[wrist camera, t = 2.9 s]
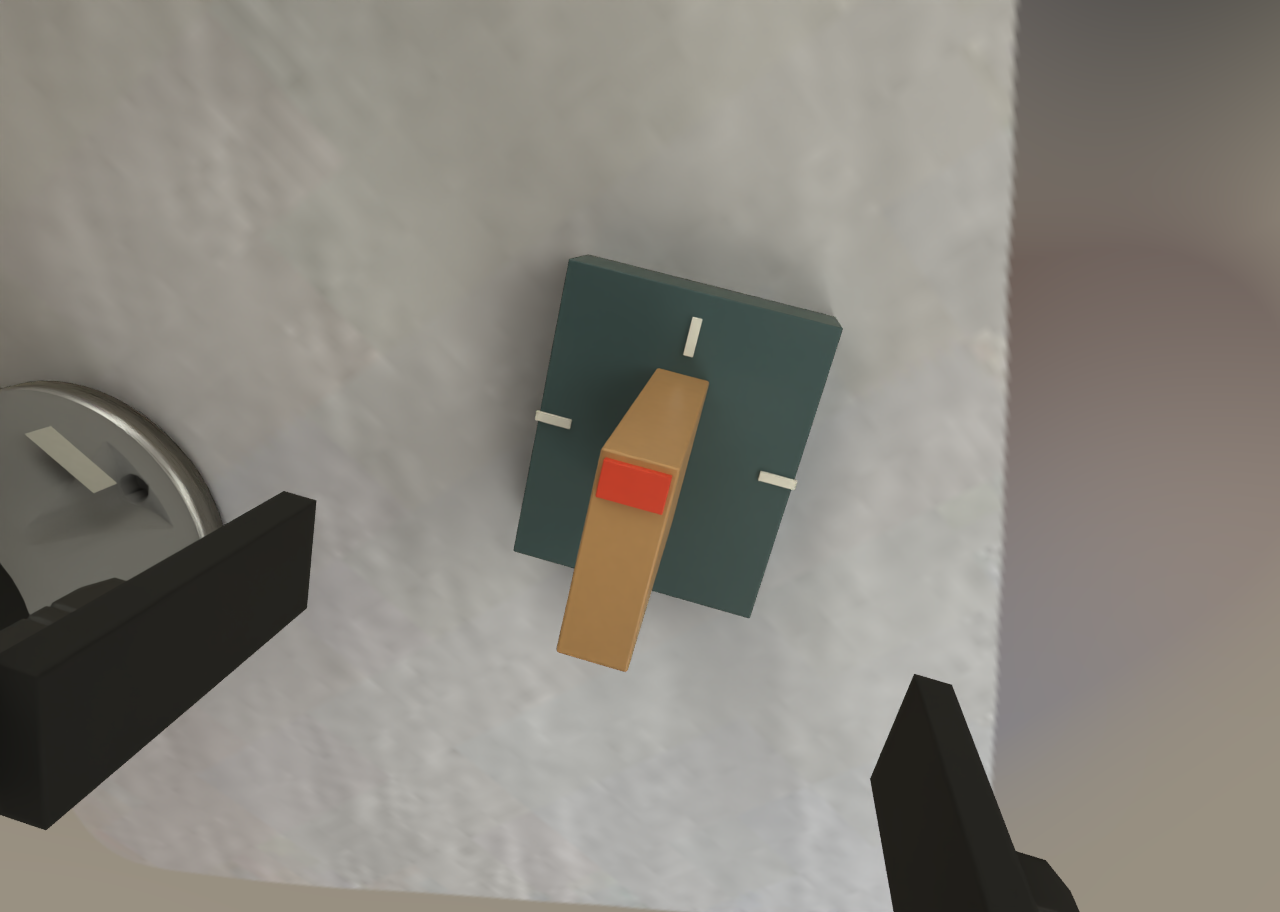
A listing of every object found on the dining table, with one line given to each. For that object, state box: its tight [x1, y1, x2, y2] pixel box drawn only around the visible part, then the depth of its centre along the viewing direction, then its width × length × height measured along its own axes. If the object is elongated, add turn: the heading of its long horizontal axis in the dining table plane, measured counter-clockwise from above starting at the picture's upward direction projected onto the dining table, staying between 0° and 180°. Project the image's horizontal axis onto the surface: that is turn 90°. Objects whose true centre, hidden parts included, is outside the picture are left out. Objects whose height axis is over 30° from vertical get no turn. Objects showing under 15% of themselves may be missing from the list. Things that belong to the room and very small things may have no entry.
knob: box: [557, 368, 709, 672], centre depth 24 cm, size 6×2×10 cm, turn 167°
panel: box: [514, 255, 843, 618], centre depth 30 cm, size 12×10×3 cm
